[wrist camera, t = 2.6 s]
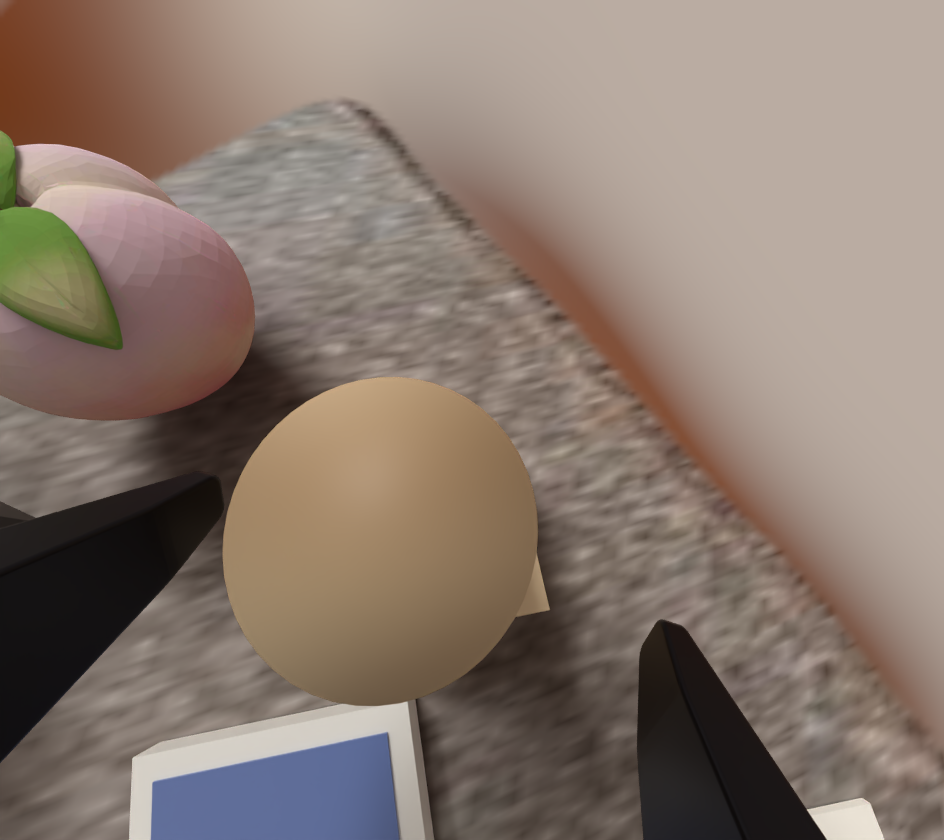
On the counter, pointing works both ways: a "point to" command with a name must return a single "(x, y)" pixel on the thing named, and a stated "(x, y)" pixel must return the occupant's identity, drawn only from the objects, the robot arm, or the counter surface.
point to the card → (847, 821)
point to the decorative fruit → (110, 290)
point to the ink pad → (288, 780)
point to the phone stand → (11, 516)
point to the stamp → (381, 542)
